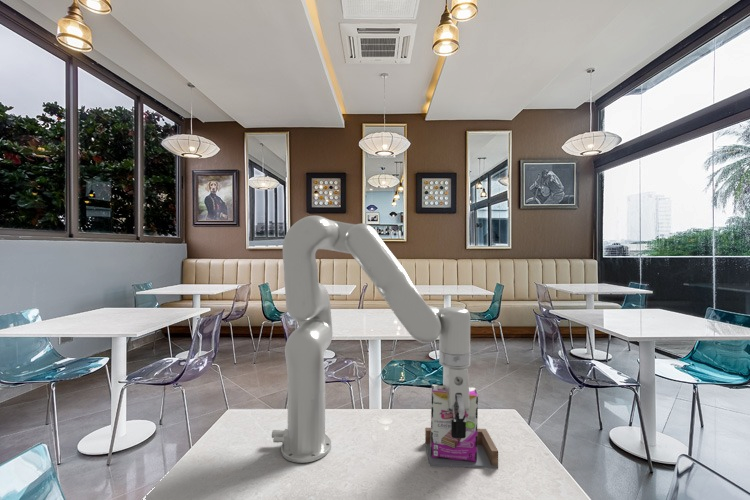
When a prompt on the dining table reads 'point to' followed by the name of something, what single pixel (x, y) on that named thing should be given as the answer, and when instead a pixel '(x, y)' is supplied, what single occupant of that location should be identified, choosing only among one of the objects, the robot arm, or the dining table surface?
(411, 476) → the dining table surface
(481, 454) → the slate mat
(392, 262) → the robot arm
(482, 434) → the walnut corner walls
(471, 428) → the candy bar box
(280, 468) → the dining table surface
